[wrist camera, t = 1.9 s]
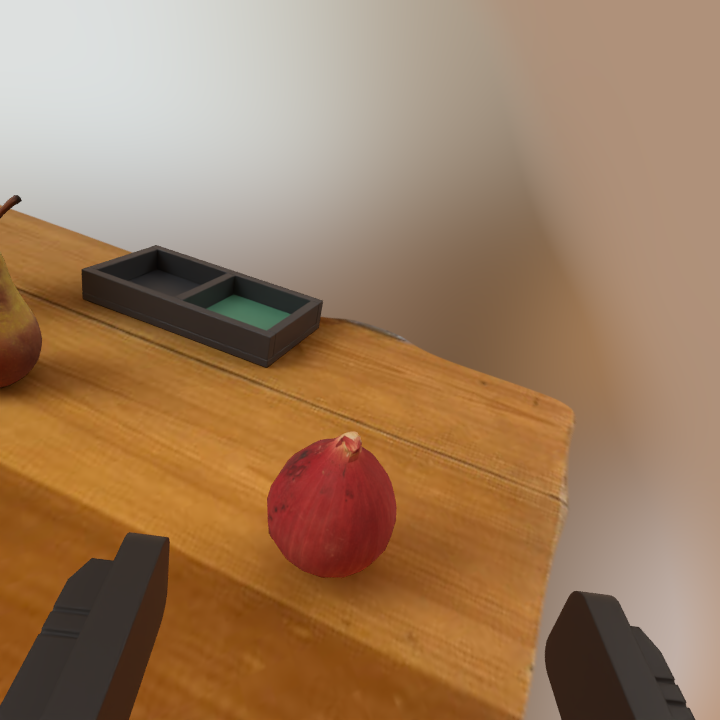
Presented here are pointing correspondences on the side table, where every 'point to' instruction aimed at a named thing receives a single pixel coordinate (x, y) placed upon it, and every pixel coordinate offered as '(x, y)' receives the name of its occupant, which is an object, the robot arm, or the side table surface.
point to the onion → (332, 508)
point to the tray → (204, 302)
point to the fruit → (15, 325)
